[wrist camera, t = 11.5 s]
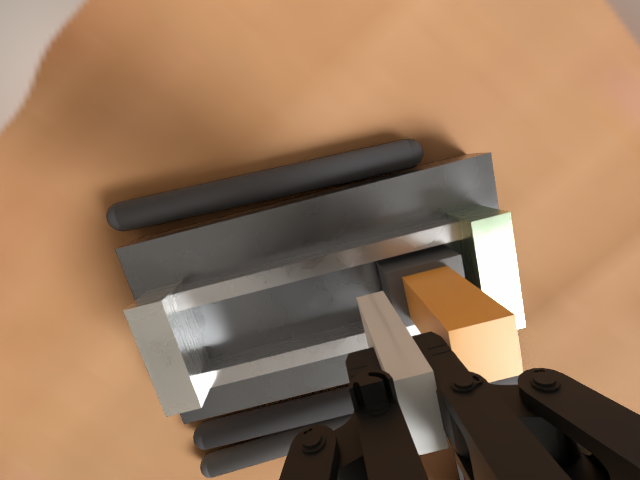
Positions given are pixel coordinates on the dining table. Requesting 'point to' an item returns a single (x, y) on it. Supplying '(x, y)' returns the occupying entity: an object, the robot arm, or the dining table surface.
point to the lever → (453, 310)
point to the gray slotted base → (301, 282)
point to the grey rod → (273, 418)
